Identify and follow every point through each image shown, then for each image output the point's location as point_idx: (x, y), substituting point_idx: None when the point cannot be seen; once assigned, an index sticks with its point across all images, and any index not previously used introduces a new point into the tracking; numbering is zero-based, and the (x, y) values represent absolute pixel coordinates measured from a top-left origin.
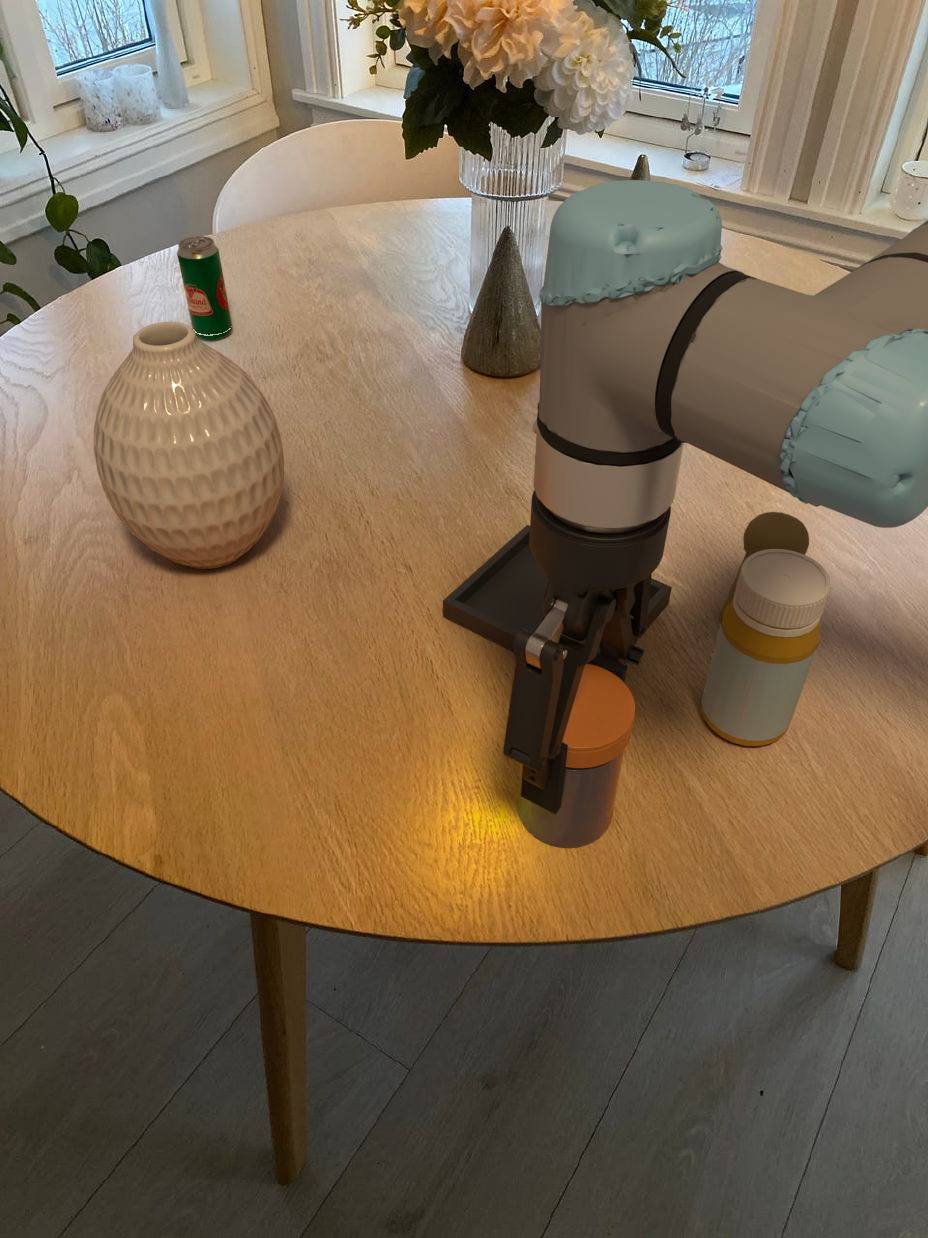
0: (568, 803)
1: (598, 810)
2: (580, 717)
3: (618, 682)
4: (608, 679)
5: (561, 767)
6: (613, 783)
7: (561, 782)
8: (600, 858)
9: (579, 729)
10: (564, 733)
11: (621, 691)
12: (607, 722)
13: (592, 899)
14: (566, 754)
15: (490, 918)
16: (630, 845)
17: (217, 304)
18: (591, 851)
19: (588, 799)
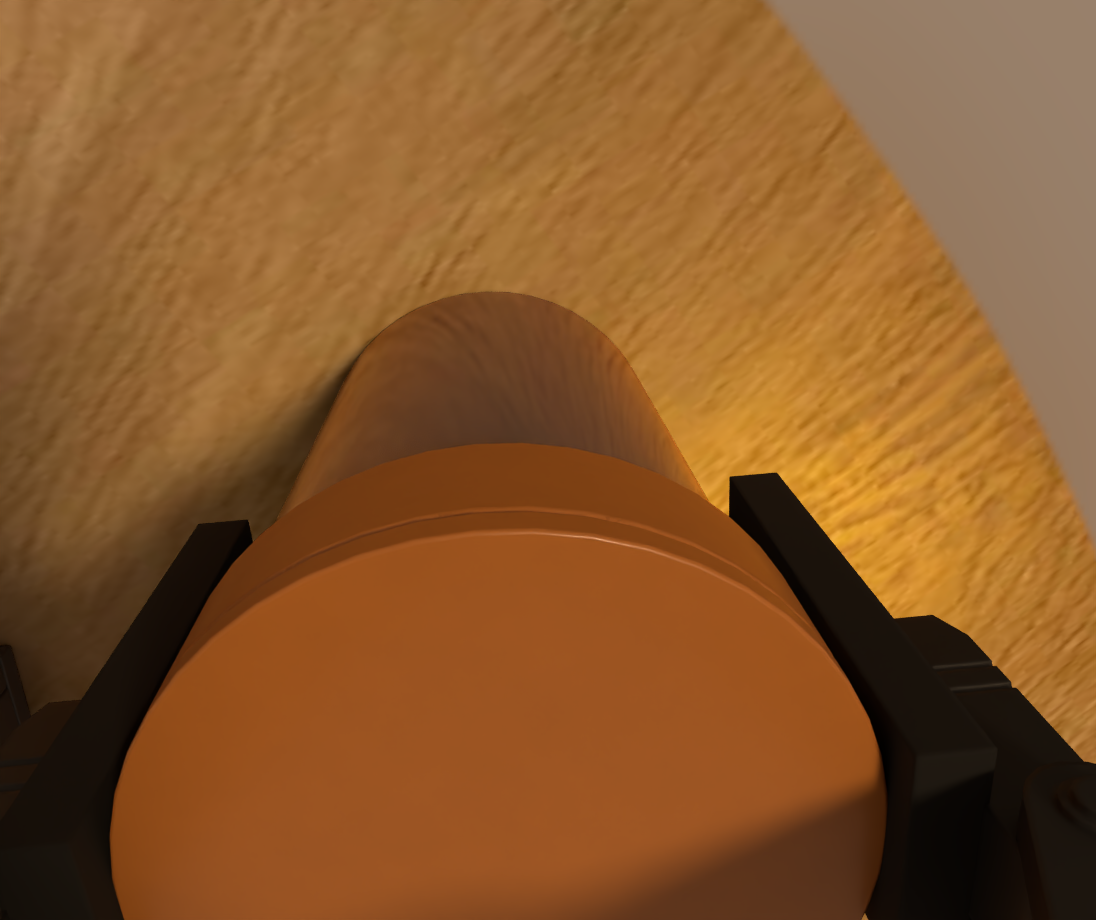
0: (686, 462)
1: (568, 349)
2: (610, 806)
3: (151, 796)
4: (181, 852)
5: (901, 648)
6: (495, 370)
7: (818, 568)
8: (591, 247)
9: (703, 759)
10: (1048, 892)
11: (208, 741)
12: (535, 665)
13: (746, 181)
14: (882, 696)
15: (966, 400)
16: (479, 189)
17: None
18: (585, 287)
19: (634, 409)
